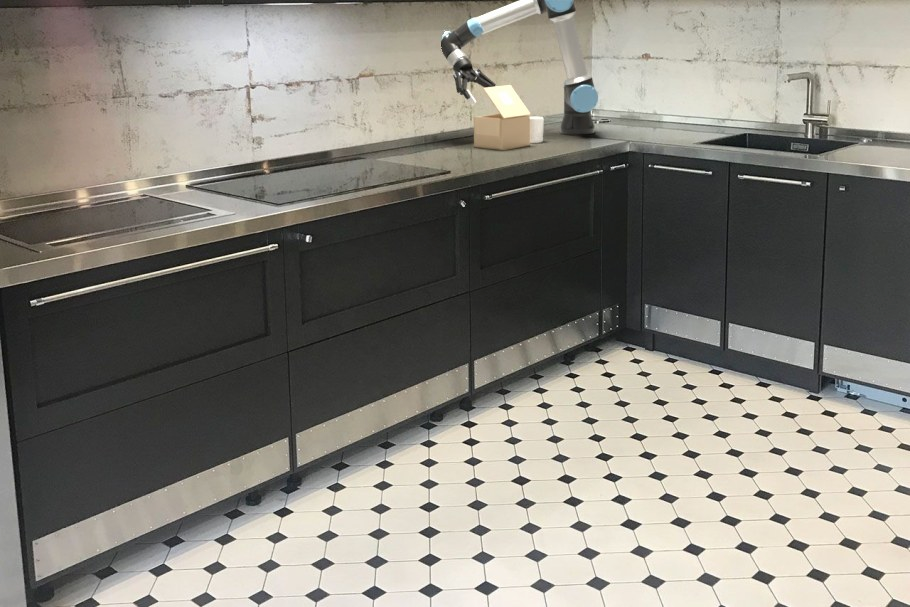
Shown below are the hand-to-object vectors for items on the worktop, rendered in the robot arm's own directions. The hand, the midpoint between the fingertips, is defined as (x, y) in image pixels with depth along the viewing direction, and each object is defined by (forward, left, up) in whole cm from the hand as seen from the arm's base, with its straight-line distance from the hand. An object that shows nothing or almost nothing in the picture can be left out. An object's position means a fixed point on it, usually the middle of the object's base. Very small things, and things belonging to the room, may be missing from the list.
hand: (486, 102), depth 416 cm
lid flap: (-6, +8, +1) cm, 10 cm away
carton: (-5, +6, -17) cm, 19 cm away
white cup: (-21, -1, -17) cm, 27 cm away
